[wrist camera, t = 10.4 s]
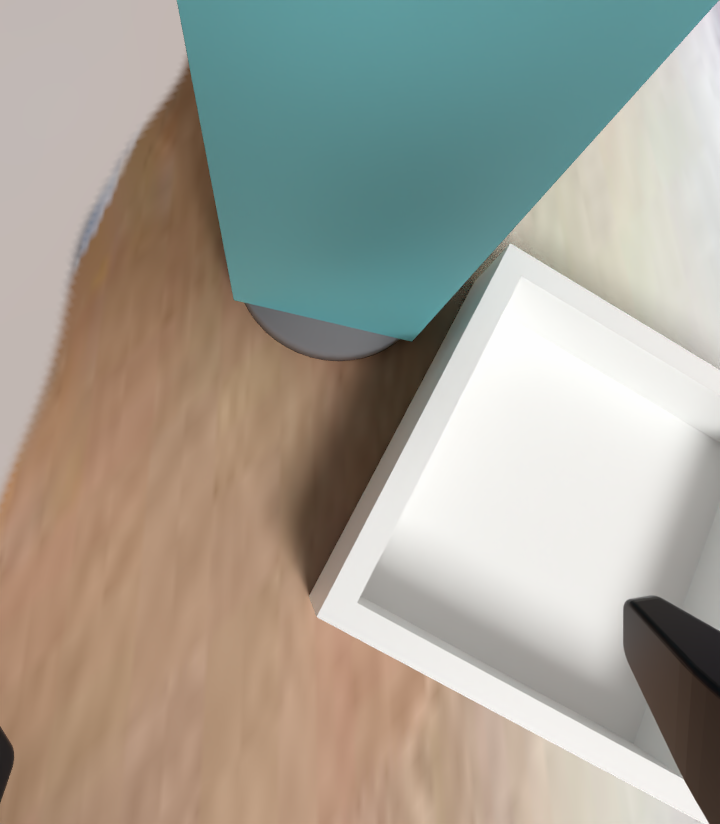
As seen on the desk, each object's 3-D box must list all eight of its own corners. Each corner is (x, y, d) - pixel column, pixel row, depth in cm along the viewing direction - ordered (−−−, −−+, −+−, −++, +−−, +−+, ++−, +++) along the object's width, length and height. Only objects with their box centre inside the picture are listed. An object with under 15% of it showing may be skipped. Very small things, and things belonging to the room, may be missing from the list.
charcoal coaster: (374, 397, 18) (380, 391, 17) (195, 295, 18) (191, 283, 17) (461, 239, 20) (470, 225, 19) (297, 141, 19) (299, 122, 18)
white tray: (636, 772, 18) (708, 826, 15) (308, 596, 17) (316, 616, 14) (751, 446, 20) (832, 437, 18) (474, 280, 20) (510, 242, 17)
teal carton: (411, 341, 18) (767, -54, 5) (233, 300, 17) (121, -292, 4) (434, 209, 19) (783, -408, 6) (267, 164, 18) (256, -655, 5)
